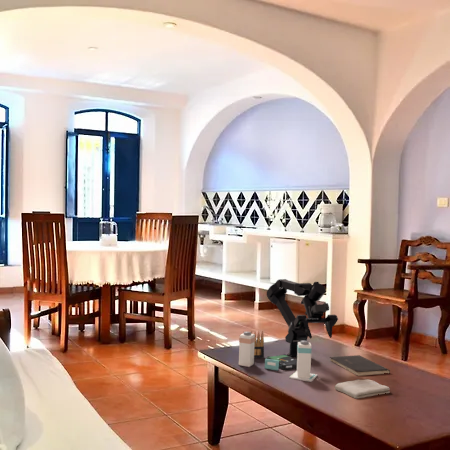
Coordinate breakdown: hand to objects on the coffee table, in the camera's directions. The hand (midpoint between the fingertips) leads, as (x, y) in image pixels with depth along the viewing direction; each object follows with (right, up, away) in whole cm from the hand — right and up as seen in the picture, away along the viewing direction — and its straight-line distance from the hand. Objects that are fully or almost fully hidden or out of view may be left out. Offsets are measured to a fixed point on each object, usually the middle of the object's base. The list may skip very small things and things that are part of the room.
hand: (321, 337), depth 240 cm
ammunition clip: (-29, -12, +16) cm, 35 cm away
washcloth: (+11, -16, -26) cm, 33 cm away
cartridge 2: (-9, -13, -11) cm, 20 cm away
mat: (-9, -14, -11) cm, 20 cm away
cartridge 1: (-32, -12, +4) cm, 34 cm away
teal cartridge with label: (-21, -13, -2) cm, 25 cm away
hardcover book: (+17, -15, +7) cm, 24 cm away
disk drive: (-15, -14, +6) cm, 21 cm away
